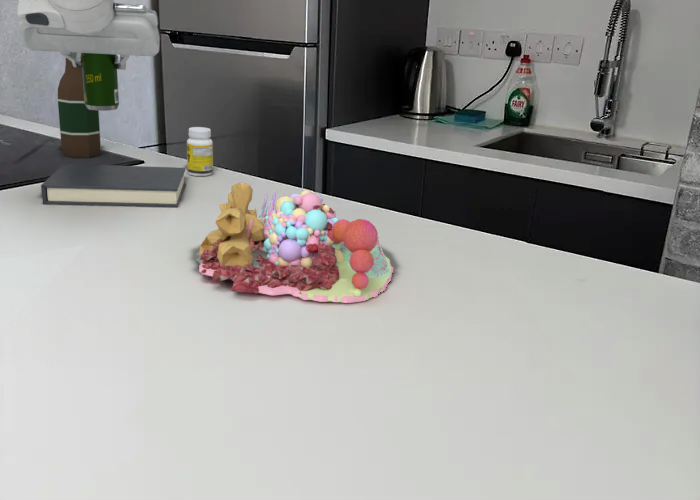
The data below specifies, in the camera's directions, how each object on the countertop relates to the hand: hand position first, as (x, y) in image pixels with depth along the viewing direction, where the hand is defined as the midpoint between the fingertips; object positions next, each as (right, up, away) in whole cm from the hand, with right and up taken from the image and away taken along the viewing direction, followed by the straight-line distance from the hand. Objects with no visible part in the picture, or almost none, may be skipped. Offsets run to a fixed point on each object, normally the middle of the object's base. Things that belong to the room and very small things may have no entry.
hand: (100, 65), depth 112 cm
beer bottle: (-13, -11, +25) cm, 30 cm away
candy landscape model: (+34, -32, -24) cm, 53 cm away
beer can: (0, -7, +2) cm, 7 cm away
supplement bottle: (+13, -16, +16) cm, 26 cm away
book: (+3, -21, 0) cm, 21 cm away
